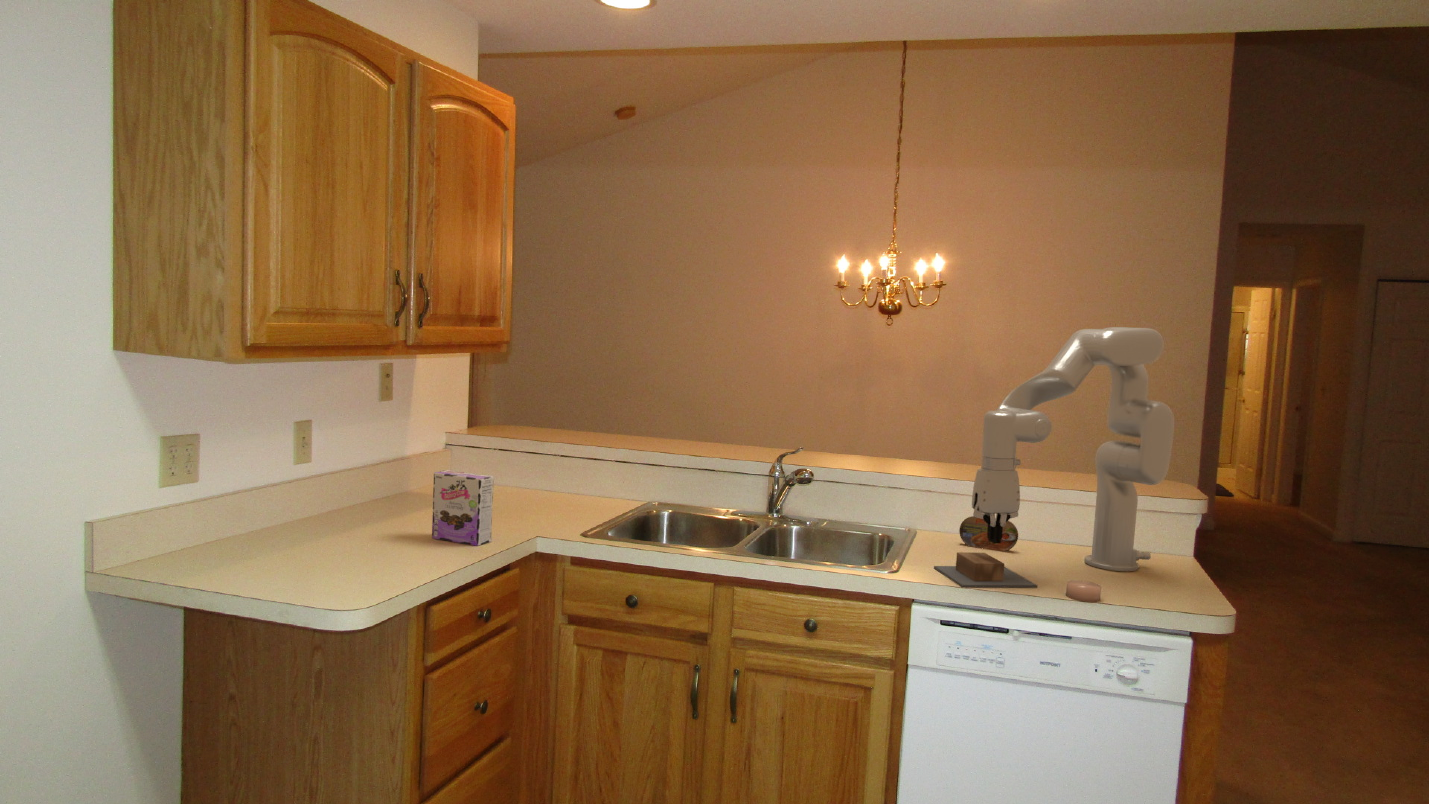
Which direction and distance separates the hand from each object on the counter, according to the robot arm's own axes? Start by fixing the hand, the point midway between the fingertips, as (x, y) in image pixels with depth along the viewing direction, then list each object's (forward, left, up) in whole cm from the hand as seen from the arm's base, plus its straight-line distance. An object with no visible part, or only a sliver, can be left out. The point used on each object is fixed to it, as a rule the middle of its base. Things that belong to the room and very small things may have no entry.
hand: (994, 542), depth 216 cm
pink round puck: (-14, +16, -9) cm, 23 cm away
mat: (+2, +1, -8) cm, 9 cm away
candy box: (+123, -30, -9) cm, 127 cm away
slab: (0, +1, -6) cm, 6 cm away
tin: (-13, -28, -9) cm, 32 cm away
